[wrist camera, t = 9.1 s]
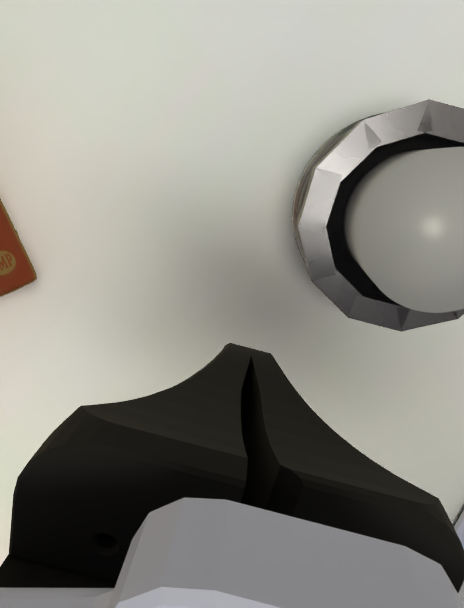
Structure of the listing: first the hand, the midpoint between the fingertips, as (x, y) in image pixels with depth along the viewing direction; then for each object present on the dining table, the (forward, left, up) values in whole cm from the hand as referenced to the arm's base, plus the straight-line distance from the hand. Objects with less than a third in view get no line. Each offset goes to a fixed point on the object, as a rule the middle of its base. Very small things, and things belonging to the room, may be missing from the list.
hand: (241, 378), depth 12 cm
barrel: (+5, -5, -10) cm, 13 cm away
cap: (+5, -5, -6) cm, 10 cm away
